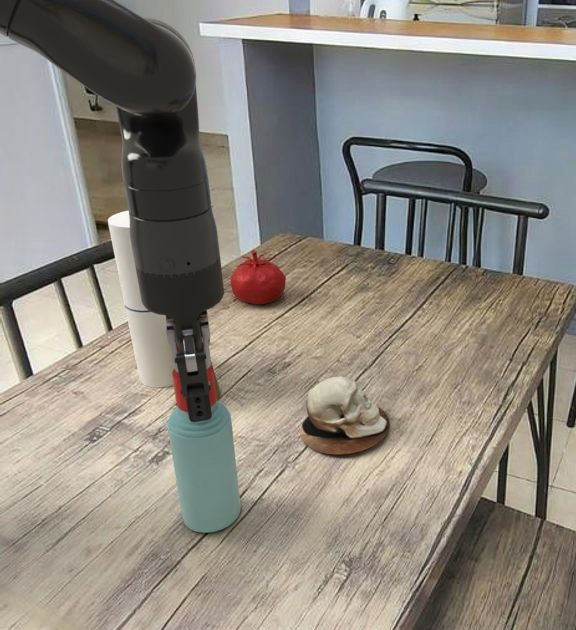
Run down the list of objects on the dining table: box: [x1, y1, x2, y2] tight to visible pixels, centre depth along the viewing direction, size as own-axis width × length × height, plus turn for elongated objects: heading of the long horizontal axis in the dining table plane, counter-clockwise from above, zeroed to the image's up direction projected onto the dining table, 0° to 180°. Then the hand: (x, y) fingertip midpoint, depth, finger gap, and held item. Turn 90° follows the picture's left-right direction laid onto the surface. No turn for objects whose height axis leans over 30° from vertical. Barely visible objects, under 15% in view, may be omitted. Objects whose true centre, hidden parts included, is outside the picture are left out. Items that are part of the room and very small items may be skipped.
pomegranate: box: [230, 250, 287, 305], centre depth 125 cm, size 10×10×9 cm
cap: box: [172, 364, 218, 412], centre depth 70 cm, size 4×4×4 cm
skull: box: [299, 375, 391, 455], centre depth 92 cm, size 12×10×10 cm
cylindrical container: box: [107, 210, 174, 389], centre depth 97 cm, size 7×7×25 cm
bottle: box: [166, 400, 242, 534], centre depth 73 cm, size 6×6×18 cm
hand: (199, 406), depth 71 cm, fingers closed on cap, 3 cm apart
